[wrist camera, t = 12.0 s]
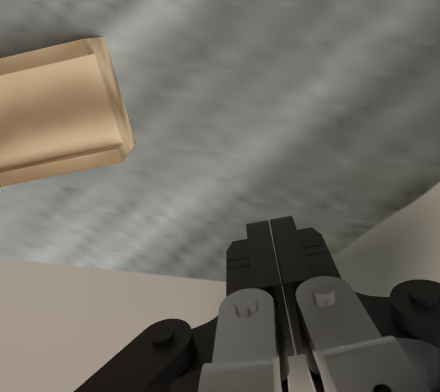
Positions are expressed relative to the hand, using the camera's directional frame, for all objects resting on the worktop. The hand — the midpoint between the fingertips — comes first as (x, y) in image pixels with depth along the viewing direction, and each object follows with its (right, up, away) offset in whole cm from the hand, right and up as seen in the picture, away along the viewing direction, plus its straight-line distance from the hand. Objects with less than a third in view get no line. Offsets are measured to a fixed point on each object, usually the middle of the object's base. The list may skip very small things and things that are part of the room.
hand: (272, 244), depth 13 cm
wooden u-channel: (-18, +10, +25) cm, 33 cm away
